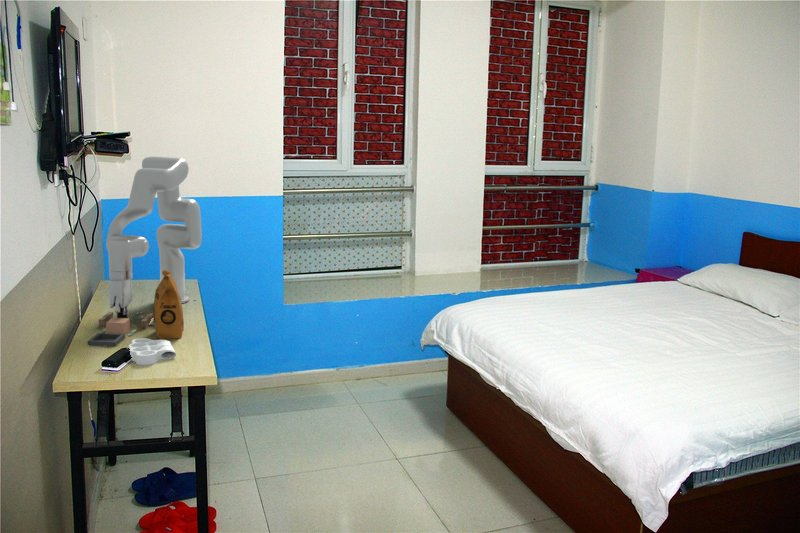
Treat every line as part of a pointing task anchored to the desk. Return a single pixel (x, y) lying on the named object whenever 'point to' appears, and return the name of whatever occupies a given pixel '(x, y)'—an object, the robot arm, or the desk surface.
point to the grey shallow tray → (106, 339)
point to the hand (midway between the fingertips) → (122, 325)
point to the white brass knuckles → (150, 350)
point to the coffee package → (168, 309)
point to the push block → (118, 325)
